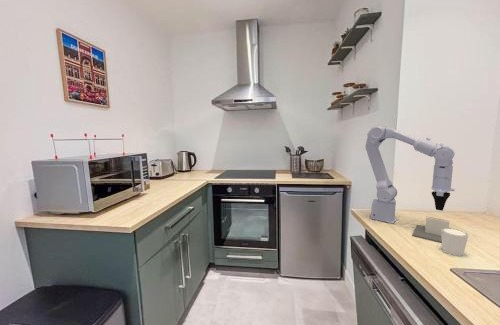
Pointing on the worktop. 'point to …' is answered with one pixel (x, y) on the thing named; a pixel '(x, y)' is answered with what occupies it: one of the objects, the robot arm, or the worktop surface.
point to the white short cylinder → (453, 241)
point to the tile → (435, 225)
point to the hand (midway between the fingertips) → (439, 209)
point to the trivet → (426, 234)
